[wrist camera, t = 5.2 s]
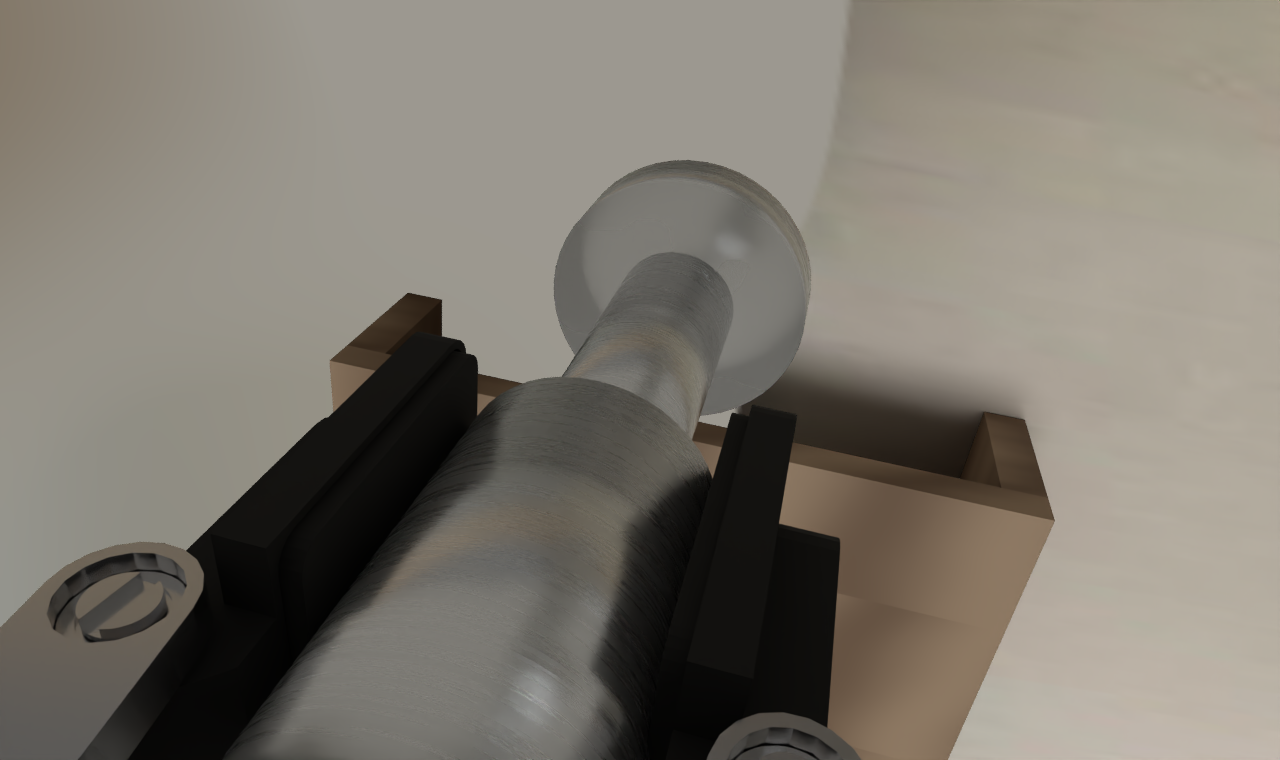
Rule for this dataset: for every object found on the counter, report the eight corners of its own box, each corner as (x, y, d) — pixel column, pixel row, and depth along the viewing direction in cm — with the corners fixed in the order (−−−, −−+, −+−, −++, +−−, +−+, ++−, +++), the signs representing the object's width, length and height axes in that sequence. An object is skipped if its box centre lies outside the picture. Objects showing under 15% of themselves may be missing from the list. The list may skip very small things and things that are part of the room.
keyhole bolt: (835, 185, 15) (729, 809, 5) (784, 404, 17) (646, 1118, 7) (582, 140, 15) (60, 613, 6) (567, 357, 18) (177, 954, 8)
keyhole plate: (1025, 420, 27) (1054, 521, 22) (854, 848, 38) (852, 971, 33) (407, 292, 29) (329, 360, 25) (417, 727, 40) (364, 825, 36)
